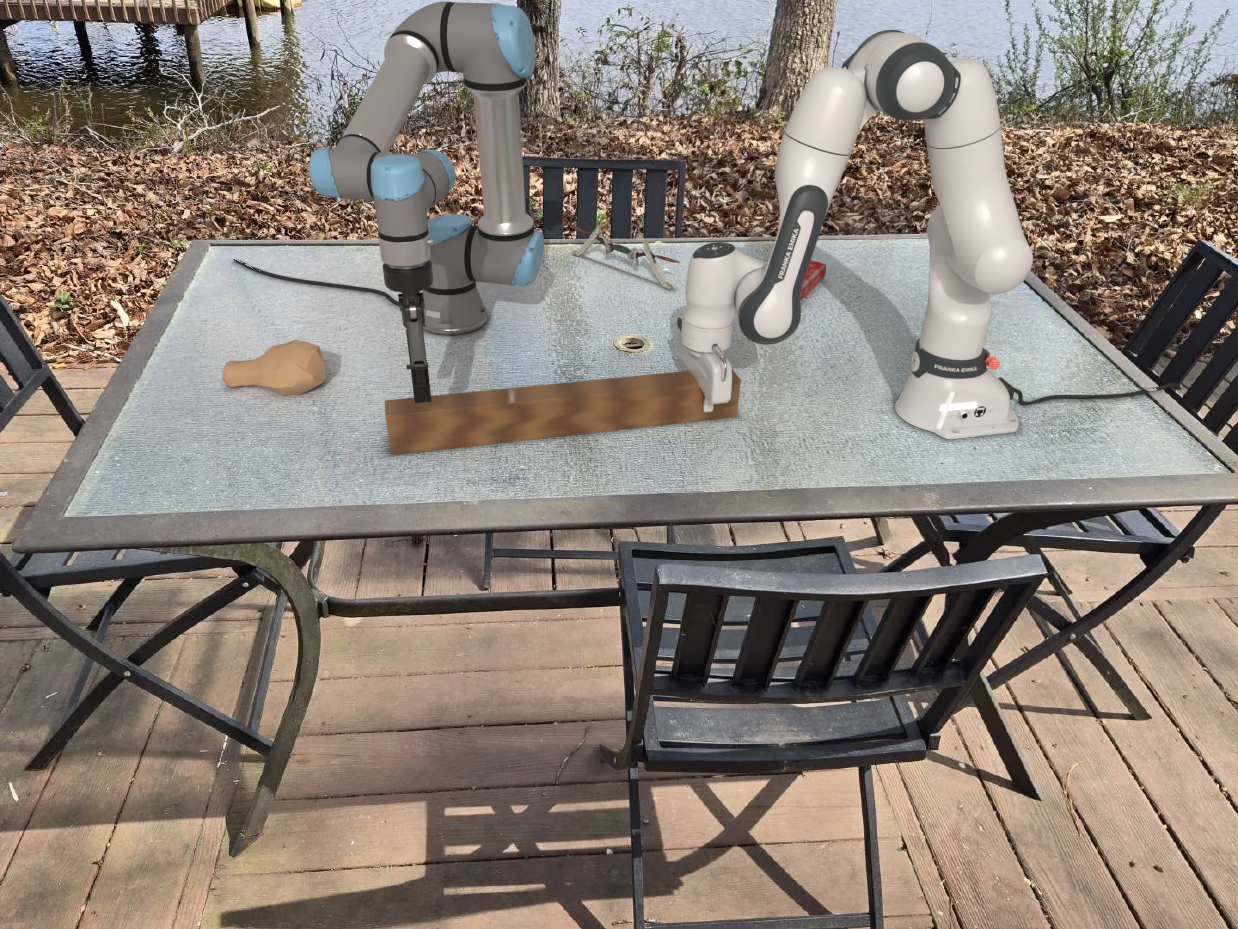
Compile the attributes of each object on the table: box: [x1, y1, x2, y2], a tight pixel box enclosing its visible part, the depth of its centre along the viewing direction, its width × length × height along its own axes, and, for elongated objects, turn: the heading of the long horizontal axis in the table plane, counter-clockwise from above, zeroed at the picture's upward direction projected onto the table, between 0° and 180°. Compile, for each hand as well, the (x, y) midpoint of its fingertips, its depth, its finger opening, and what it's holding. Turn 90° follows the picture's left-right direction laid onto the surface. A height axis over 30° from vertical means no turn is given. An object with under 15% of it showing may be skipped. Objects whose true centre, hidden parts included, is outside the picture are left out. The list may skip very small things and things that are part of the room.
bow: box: [567, 223, 681, 290], centre depth 222 cm, size 39×2×10 cm, turn 47°
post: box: [383, 368, 742, 456], centre depth 158 cm, size 64×5×8 cm, turn 104°
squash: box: [221, 339, 327, 396], centre depth 168 cm, size 11×20×9 cm, turn 90°
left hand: (420, 382), depth 148 cm, fingers open, 13 cm apart
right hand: (701, 401), depth 164 cm, fingers closed on post, 5 cm apart
